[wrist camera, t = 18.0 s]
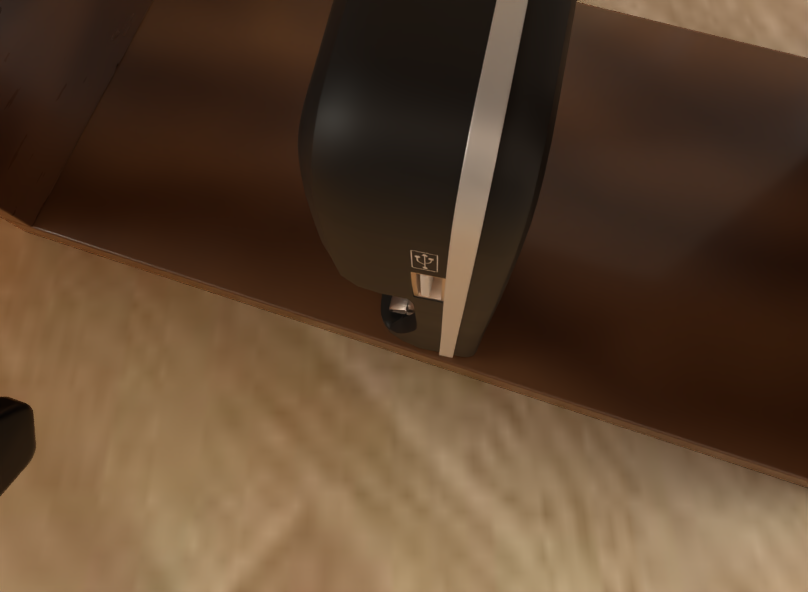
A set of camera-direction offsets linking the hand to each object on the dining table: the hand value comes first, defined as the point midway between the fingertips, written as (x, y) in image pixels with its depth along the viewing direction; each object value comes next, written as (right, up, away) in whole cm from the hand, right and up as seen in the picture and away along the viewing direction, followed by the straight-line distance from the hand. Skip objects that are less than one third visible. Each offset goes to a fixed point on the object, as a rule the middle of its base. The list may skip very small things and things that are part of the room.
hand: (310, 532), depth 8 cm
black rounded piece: (+2, +5, +11) cm, 12 cm away
